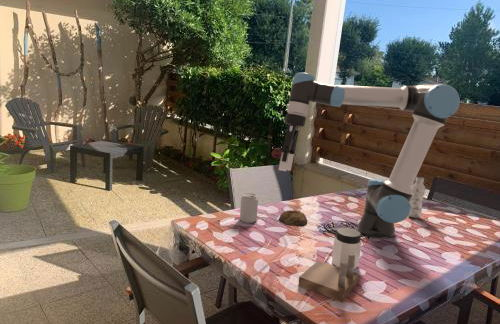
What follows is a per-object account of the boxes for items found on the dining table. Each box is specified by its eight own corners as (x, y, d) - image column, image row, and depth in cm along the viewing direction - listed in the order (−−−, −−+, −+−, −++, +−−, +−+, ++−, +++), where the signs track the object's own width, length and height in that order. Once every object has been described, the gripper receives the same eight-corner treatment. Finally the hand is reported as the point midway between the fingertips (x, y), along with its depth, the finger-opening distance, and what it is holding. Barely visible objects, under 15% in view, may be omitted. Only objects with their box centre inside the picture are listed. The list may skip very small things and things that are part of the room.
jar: (340, 256, 137) (343, 225, 134) (361, 264, 131) (365, 232, 129) (328, 264, 130) (331, 231, 127) (350, 273, 125) (354, 239, 122)
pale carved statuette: (406, 218, 183) (412, 178, 179) (406, 214, 189) (412, 175, 185) (421, 220, 181) (427, 180, 177) (420, 216, 187) (426, 177, 183)
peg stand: (298, 285, 115) (301, 255, 113) (317, 268, 126) (320, 240, 124) (342, 302, 107) (346, 270, 105) (358, 282, 119) (362, 253, 117)
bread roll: (306, 217, 176) (307, 207, 175) (307, 227, 164) (308, 216, 163) (278, 215, 177) (279, 205, 176) (278, 224, 165) (278, 214, 164)
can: (254, 224, 162) (256, 198, 160) (238, 222, 164) (239, 196, 161) (258, 218, 170) (259, 193, 167) (241, 216, 171) (243, 191, 169)
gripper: (290, 117, 154) (280, 168, 155) (281, 108, 130) (269, 168, 131) (308, 120, 152) (298, 171, 153) (303, 112, 128) (290, 173, 129)
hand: (284, 170), depth 142 cm, fingers open, 13 cm apart
